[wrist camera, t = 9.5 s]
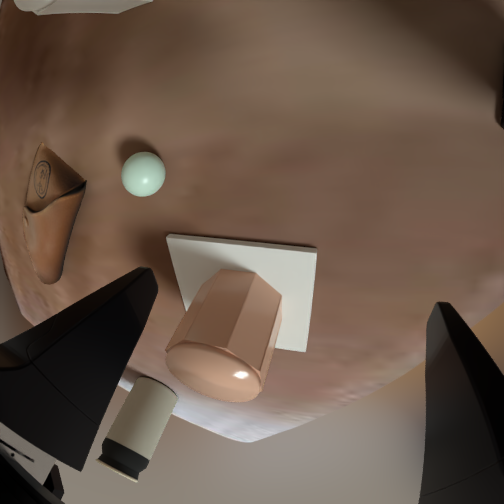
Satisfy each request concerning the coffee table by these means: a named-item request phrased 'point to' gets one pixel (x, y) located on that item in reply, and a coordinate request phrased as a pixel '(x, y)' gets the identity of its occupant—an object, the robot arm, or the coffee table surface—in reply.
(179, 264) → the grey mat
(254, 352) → the terracotta cup
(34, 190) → the sunglasses case
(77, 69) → the coffee table surface
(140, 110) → the coffee table surface
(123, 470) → the travel mug
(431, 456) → the robot arm
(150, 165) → the pale green marble
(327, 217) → the coffee table surface
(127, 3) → the off-white cup
